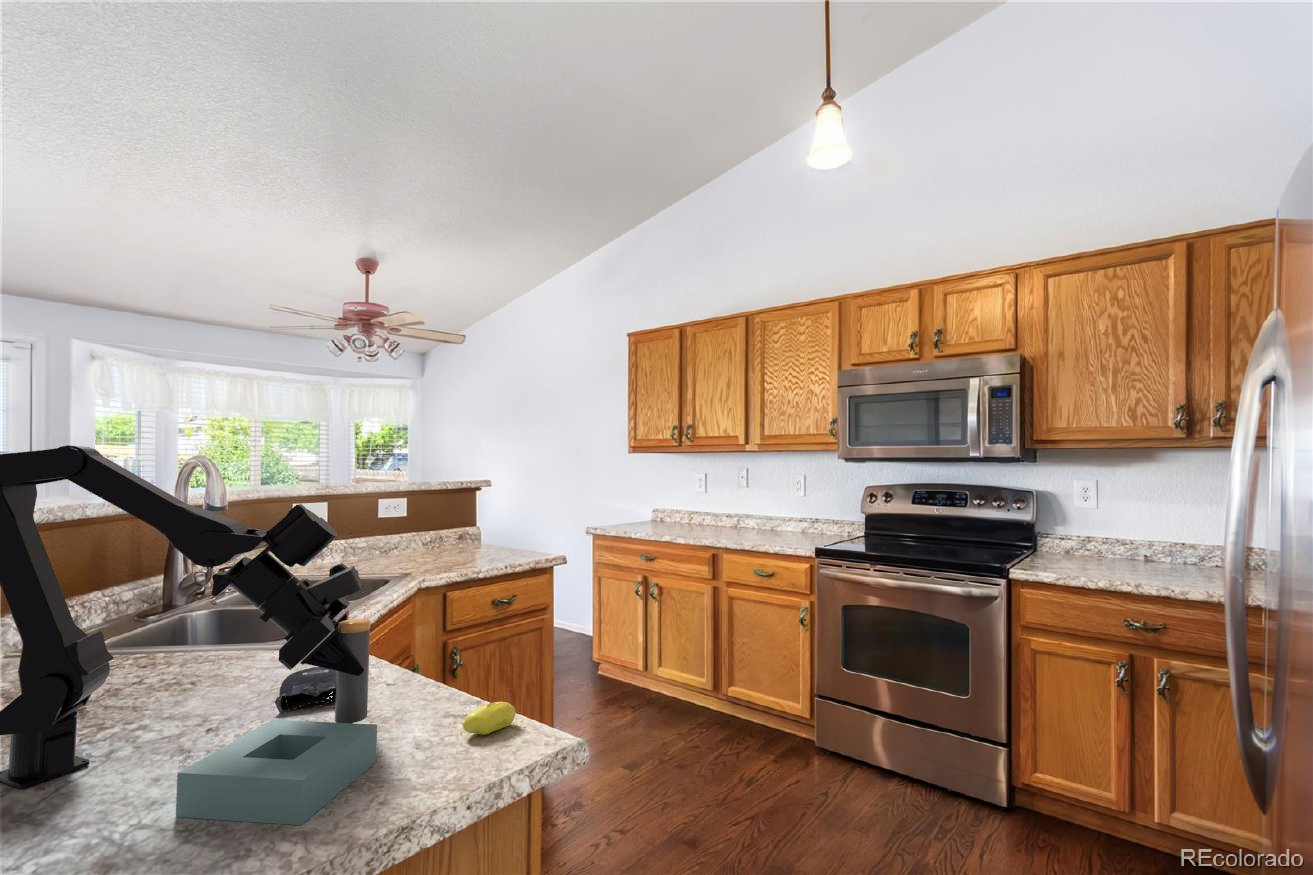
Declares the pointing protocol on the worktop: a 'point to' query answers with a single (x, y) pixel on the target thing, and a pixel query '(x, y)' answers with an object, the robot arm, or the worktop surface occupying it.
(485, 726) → the lemon
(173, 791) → the worktop surface
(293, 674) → the electronic device
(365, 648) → the plug
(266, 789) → the socket
